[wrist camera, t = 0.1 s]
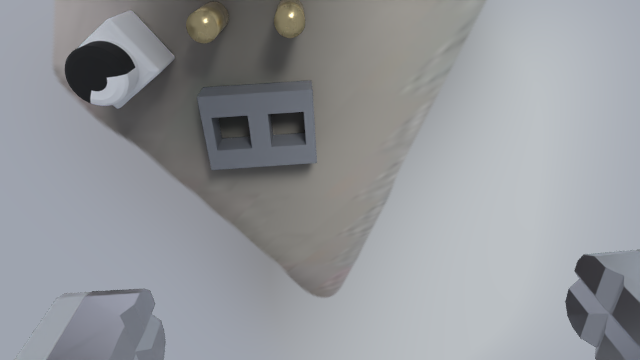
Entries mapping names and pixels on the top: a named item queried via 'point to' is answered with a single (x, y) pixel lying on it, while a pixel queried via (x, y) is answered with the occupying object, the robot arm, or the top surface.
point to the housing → (258, 124)
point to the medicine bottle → (116, 61)
